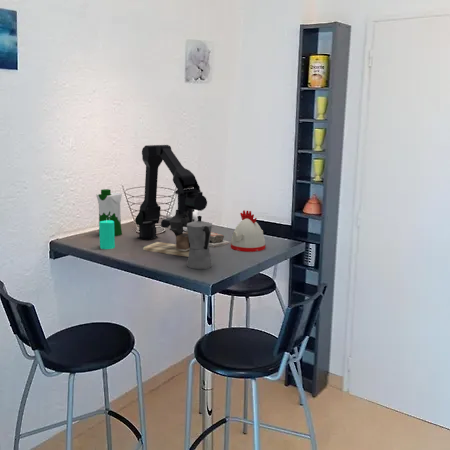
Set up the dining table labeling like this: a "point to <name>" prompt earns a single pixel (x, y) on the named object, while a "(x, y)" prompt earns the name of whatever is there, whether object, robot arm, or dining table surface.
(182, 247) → the block
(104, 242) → the candle
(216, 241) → the packaged product
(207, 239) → the coffeepot
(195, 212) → the white knot sculpture
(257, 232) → the kitchen timer
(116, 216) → the milk carton
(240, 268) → the dining table surface
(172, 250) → the board
